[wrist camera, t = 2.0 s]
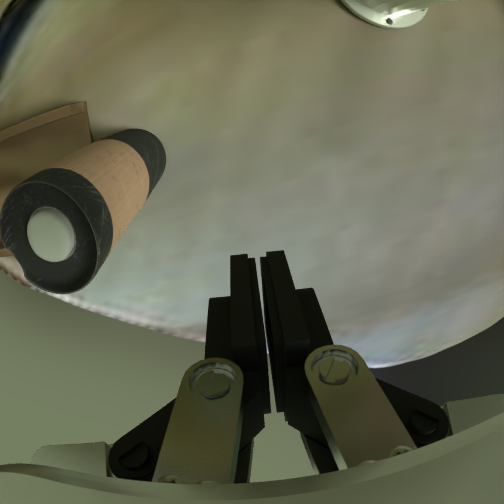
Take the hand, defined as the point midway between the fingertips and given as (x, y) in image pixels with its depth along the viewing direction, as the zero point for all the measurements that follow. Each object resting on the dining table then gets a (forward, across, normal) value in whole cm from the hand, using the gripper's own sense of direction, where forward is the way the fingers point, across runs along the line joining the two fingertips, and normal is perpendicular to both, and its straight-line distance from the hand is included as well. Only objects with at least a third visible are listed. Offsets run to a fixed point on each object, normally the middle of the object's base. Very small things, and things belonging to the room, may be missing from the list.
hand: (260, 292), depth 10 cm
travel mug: (+26, +12, 0) cm, 29 cm away
